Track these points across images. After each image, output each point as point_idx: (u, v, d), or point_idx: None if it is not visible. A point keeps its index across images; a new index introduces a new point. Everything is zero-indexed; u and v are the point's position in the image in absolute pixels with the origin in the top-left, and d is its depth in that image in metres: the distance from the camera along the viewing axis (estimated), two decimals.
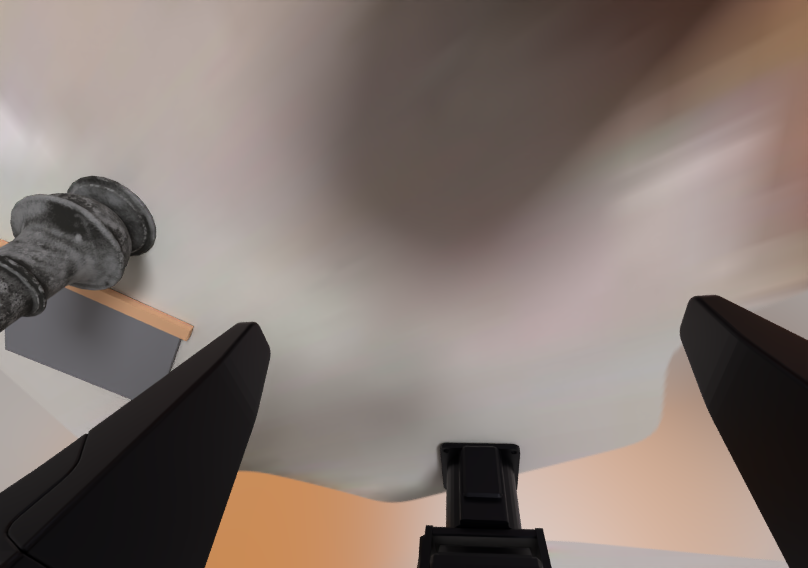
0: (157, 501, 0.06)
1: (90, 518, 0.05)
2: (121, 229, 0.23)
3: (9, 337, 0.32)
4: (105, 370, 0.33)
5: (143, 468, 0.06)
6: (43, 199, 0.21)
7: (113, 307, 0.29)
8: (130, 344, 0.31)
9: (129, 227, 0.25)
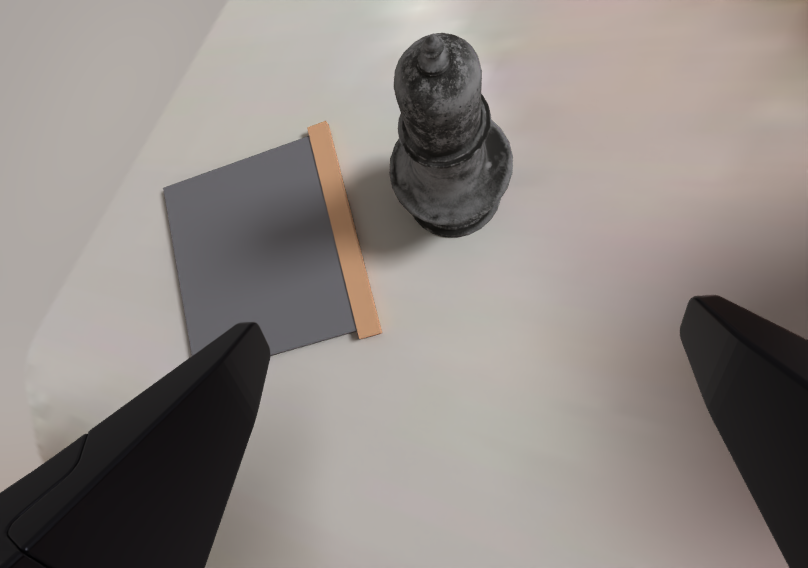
0: (157, 501, 0.06)
1: (90, 518, 0.05)
2: None
3: (188, 183, 0.26)
4: (220, 290, 0.24)
5: (143, 468, 0.06)
6: (491, 123, 0.19)
7: (338, 247, 0.23)
8: (293, 290, 0.23)
9: None
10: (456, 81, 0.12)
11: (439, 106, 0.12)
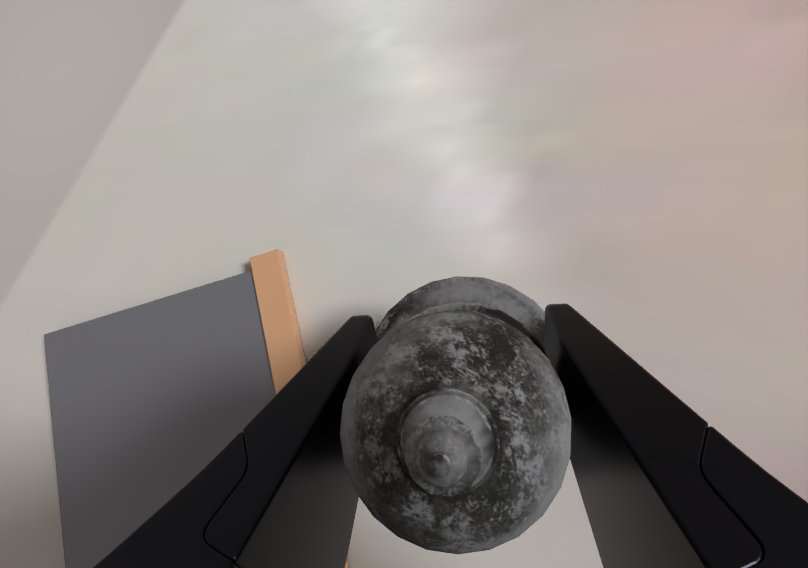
0: (316, 504, 0.06)
1: (276, 523, 0.05)
2: None
3: (79, 331, 0.18)
4: (115, 504, 0.16)
5: (308, 469, 0.06)
6: (536, 312, 0.11)
7: None
8: None
9: None
10: (511, 504, 0.04)
11: (459, 550, 0.04)
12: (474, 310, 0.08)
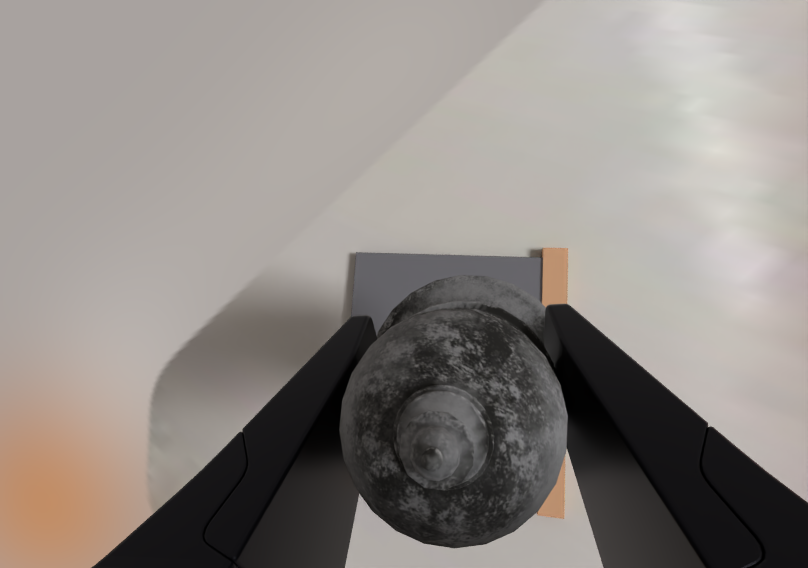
0: (316, 504, 0.06)
1: (276, 523, 0.05)
2: None
3: (386, 258, 0.23)
4: None
5: (308, 469, 0.06)
6: (540, 310, 0.11)
7: None
8: None
9: None
10: (506, 499, 0.04)
11: (455, 543, 0.05)
12: (475, 308, 0.08)
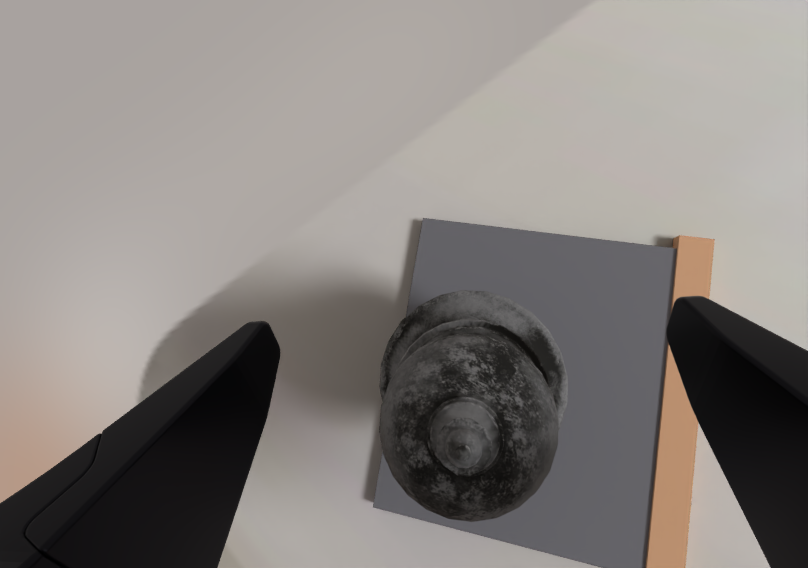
0: (171, 501, 0.06)
1: (106, 518, 0.05)
2: None
3: (462, 230, 0.17)
4: None
5: (158, 468, 0.06)
6: (533, 322, 0.13)
7: (661, 441, 0.15)
8: (563, 465, 0.15)
9: None
10: (513, 482, 0.06)
11: (473, 517, 0.06)
12: (480, 326, 0.09)
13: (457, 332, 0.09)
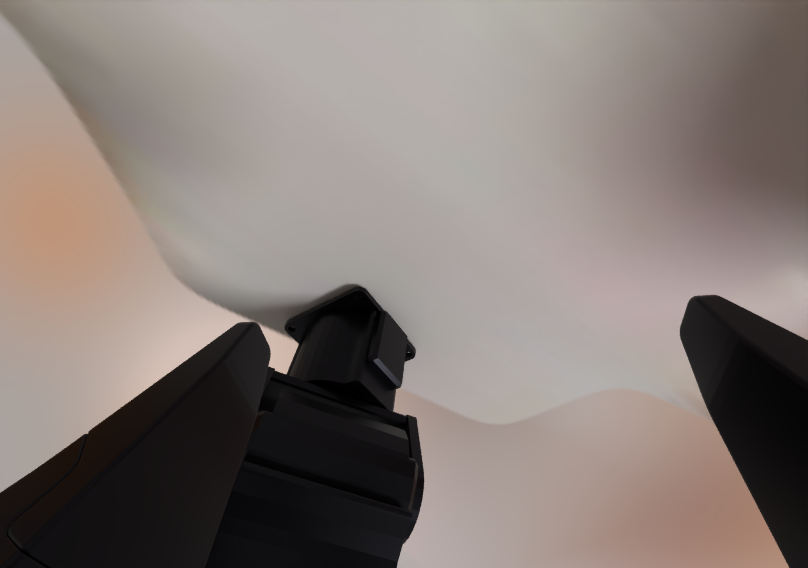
0: (157, 501, 0.06)
1: (90, 518, 0.05)
2: None
3: None
4: None
5: (143, 468, 0.06)
6: None
7: None
8: None
9: None
10: None
11: None
12: None
13: None
